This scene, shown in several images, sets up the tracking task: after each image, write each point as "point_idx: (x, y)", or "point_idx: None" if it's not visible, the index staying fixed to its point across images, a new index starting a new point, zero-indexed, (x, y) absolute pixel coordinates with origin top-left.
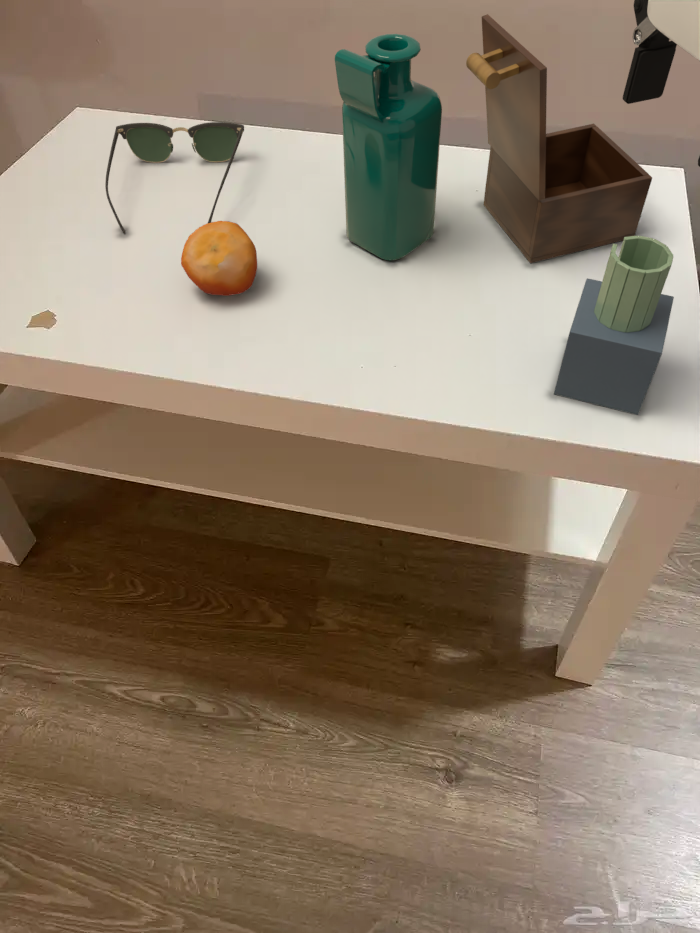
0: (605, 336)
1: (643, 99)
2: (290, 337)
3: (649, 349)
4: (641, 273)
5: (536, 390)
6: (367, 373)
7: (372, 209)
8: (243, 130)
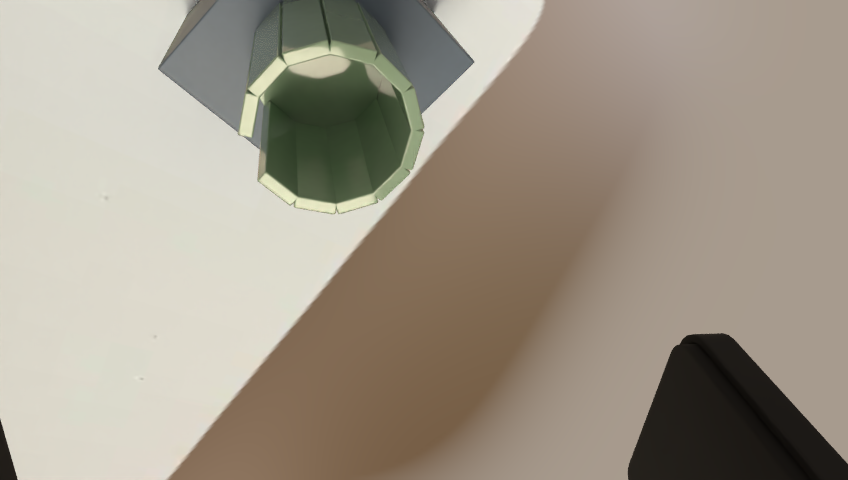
0: None
1: (7, 467)
2: (32, 450)
3: (453, 82)
4: (403, 177)
5: None
6: (159, 375)
7: None
8: None
